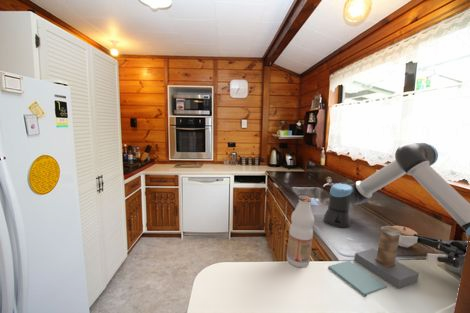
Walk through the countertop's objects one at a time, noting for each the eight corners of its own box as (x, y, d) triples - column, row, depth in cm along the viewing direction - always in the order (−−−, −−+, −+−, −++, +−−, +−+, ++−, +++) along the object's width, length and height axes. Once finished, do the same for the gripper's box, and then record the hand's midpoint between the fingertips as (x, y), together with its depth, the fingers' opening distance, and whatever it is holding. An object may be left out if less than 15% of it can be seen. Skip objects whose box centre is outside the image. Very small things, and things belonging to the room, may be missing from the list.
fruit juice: (283, 262, 94) (290, 197, 90) (289, 252, 102) (296, 192, 98) (306, 271, 89) (315, 203, 85) (311, 259, 97) (319, 196, 93)
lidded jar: (419, 251, 110) (423, 233, 109) (395, 247, 112) (398, 230, 111) (407, 240, 121) (410, 224, 119) (385, 237, 123) (388, 221, 121)
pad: (328, 268, 92) (328, 266, 92) (349, 262, 97) (349, 260, 97) (364, 296, 77) (364, 293, 77) (386, 288, 82) (387, 285, 82)
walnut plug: (374, 268, 93) (381, 226, 91) (381, 265, 95) (388, 225, 93) (385, 275, 89) (393, 232, 87) (393, 272, 91) (400, 230, 89)
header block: (354, 261, 98) (355, 252, 97) (372, 256, 103) (373, 248, 102) (397, 290, 82) (399, 280, 81) (416, 282, 87) (418, 273, 86)
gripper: (500, 281, 78) (439, 276, 79) (438, 243, 103) (391, 240, 103) (505, 261, 77) (443, 256, 78) (441, 228, 102) (394, 224, 102)
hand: (413, 247), depth 90 cm, fingers open, 13 cm apart
